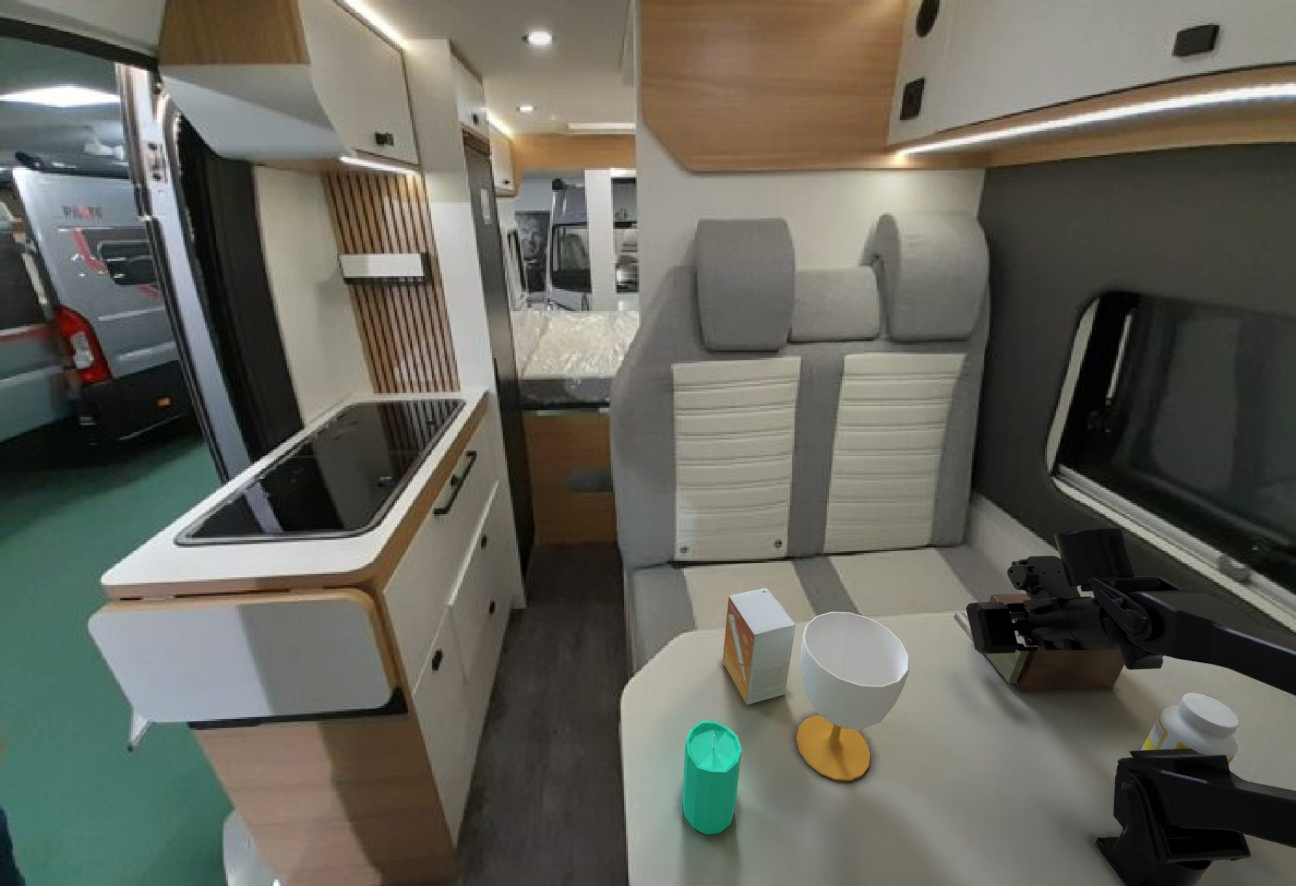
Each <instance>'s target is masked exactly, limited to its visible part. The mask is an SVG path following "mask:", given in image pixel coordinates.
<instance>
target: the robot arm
mask: <svg viewBox="0 0 1296 886" xmlns="http://www.w3.org/2000/svg"><path fill="white" fill-rule="evenodd" d="M1053 537H1054V541H1055V543H1056V547H1057V551H1058V553H1059V556H1056V555H1030V556H1028V557H1027V558H1020V559H1019V560H1013V561H1011V566H1010V567H1008V569H1007V570H1006V575H1007V576H1008V579H1009V581H1010V583H1011V584H1012V587H1013V588H1014V589H1015V590H1017V591H1024V592H1025V594H1027V595H1028V596H1029V597H1030V598H1031V600H1023V602H1024V603H1008V604H1006V605H1005V604H1004V603H1003V602H989V601H981V602H980V601H979V602H970V603H969V602H968V604H967V606H966V607H965V612H966V616H968V620H969V625H970V629H971V633H972V638H973V642H974V643H973V642H972V643H973V646H974V650H975V651H977V652H978V653H979V654H985V655H986V654H998V653H1015V652H1016V650H1017V651H1038V649H1037V647H1038V646H1039V649H1040V650H1065V651H1078V650H1120V652H1121V655H1122V658H1123V661H1124V664H1125V665H1124V667H1125V668H1126V669H1127V670H1130V671H1134V670H1135V671H1136V670H1137V671H1139V670H1160V669H1162V667H1163V663H1164V656H1165V657H1168V658H1172V659H1175V660H1181V661H1189V662H1192V663H1193V662H1195V663H1201V664H1207V665H1213V666H1216V667H1220V668H1225V669H1228V670H1231V671H1232V672H1236V673H1238V674H1240V675H1243V676H1246V677H1248V678H1251V679H1253V680H1255V681H1258V682H1260V683H1262V684H1265V685H1268V686H1271V687H1273V688H1275V689H1277V690H1280V691H1283V692H1285V693H1288V694H1290V695H1293V696H1295V697H1296V636H1294V635H1290V634H1288V633H1284V632H1282V631H1278V630H1275V629H1272V628H1269V627H1266V626H1264V625H1262V624H1260V623H1257V622H1255V621H1253V620H1251V619H1249V617H1247V616H1246V614H1244V613H1243V611H1241V610H1239V608H1237V607H1235V606H1233V605H1231V604H1229V603H1226V602H1225V601H1223V600H1220V599H1218V598H1215V597H1213V596H1211V595H1209V594H1206V593H1205V592H1202V591H1199V590H1194V589H1193V590H1192V589H1186V588H1185V589H1184V588H1183V587H1181V586H1179V585H1177V584H1176V583H1174V582H1171V581H1170V580H1168V579H1166V578H1164V577H1163V576H1160V575H1138V576H1137V575H1136V574H1135V571H1134V568H1133V566H1132V563H1131V560H1130V556H1129V553H1128V551H1127V547H1126V543H1125V537H1124V534H1123V530H1122V528H1120V527H1101V528H1100V527H1099V528H1096V529H1087V530H1077V531H1076V530H1073V531H1062V532H1059V533H1056V534H1054V536H1053ZM1078 587H1080V591H1081V592H1084V593H1085V592H1088V593H1089V592H1092V594H1093V597H1092V596H1091V595H1090V596H1089V595H1087V596H1084V595H1083V596H1081V594H1080V591H1079V589H1078ZM1028 611H1030V612H1028ZM1129 754H1130V756H1131V757H1121V758H1118V760H1117V765H1116V772H1115V776H1114V790H1113V806H1112V808H1113V809H1112V810H1113V811H1112V816H1113V818H1114V819H1115V820H1116V821H1117V823H1118V824H1119V825H1120V826H1121V830H1122V831H1121V832H1120V834H1119V836H1105V837H1102V836H1101V837H1096V839H1095V841H1094V842H1095V844H1096V846H1097V847H1098V849H1099V851H1101V853H1102V855H1103V856H1104V857H1105V858H1106V860H1107V861H1108V862H1109V864H1110V865H1111V867H1112V868H1113V869H1114V871H1115V872H1116V873H1117V876H1119V878H1120V879H1121V880H1122V881H1123V883H1124V885H1125V886H1196V884H1197V883H1198V882H1199V881H1200V879H1201V878H1202V877H1203V876H1204V875H1205V873H1206V871H1207V870H1208V869H1209V867H1211V865H1212V864H1213V862H1214V861H1230V862H1233V861H1241V860H1244V859H1245V860H1246V859H1250V858H1251V857H1252V853H1251V850H1250V848H1249V845H1248V843H1247V840H1246V839H1247V838H1246V836H1250V837H1253V838H1257V839H1260V840H1264V841H1267V842H1271V843H1274V844H1278V845H1281V846H1285V847H1289V848H1292V849H1296V789H1295V790H1294V789H1289V788H1284V787H1279V786H1274V785H1269V784H1263V783H1259V782H1253V781H1249V780H1246V779H1243V778H1241V777H1240V776H1239V775H1237V774H1235V773H1234V772H1233V771H1231V768H1230V763H1229V764H1228V760H1227V756H1226V755H1205V754H1202V753H1199V752H1197V751H1195V750H1193V749H1191V748H1184V749H1161V750H1141V749H1140V750H1139V749H1138V750H1129ZM1245 835H1246V836H1245Z"/></svg>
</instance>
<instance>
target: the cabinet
mask: <svg viewBox="0 0 1296 886" xmlns="http://www.w3.org/2000/svg"><path fill="white" fill-rule="evenodd" d="M1023 600H1031V598H1030V597H1029V596H1028V595H1027V594H1026V593H1000V594H999V593H996V594H993V593H992V594H991V595H990V598H989V600H988V602H1003V603H1004V604H1005V605H1006V604H1008V603H1024V602H1023ZM1028 612H1030V611H1028ZM1037 649H1038V651H1031V654H1030V656H1029V659H1028V661H1027V664H1026V666H1025V669H1024V671H1023V674H1022V676H1021V675H1019V678H1018V680H1017V683H1014V685H1015V686H1016V687H1017V688H1018V689H1019V691H1021V692H1031V691H1032V692H1034V691H1036V692H1037V691H1041V692H1042V691H1083V690H1084V691H1086V690H1087V691H1088V690H1089V691H1091V690H1113V689H1114V687H1115V686H1116V685H1115V684H1116V683H1117V681H1118V679H1119V677H1120V675H1121V673H1122V671H1123V669H1124V667H1125V664H1124V661H1123V658H1122V655H1121V652H1120V650H1078V651H1065V650H1040V649H1039V646H1038V647H1037Z"/></svg>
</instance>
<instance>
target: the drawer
mask: <svg viewBox="0 0 1296 886" xmlns="http://www.w3.org/2000/svg"><path fill="white" fill-rule="evenodd" d="M953 619H954V620H955V622H956V623H957V624H958V626H959V627H960V628H961V629H962V631H964V633H965V634H966V636H967V637H968V638H969V639H970V641H971V642H972V643H973V644H974V642H973V638H972V633H971V629H970V625H969V620H968V616H967V614H965V613H964V612H962V611H959V612H956V613H955V614H954V615H953ZM1030 654H1031V651H1017V650H1016V652H1015V653H998V654H985V655H986V657H987V658H988V659H989V661H990V662H991V663H992V665H993V666H994V667H995V668H996V669H997V671H998V673H999V674H1001V676H1002V677H1003V679H1004V680H1005V681H1006V683H1008V684H1015V683H1017V680H1018V678H1019V675H1021V676H1022V674H1023V671H1024V669H1025V666H1026V664H1027V661H1028V659H1029V656H1030Z"/></svg>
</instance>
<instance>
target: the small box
mask: <svg viewBox="0 0 1296 886" xmlns="http://www.w3.org/2000/svg"><path fill="white" fill-rule="evenodd" d="M796 626H797V625H796V623H795V622H794V621H793V619H792V618H791V617H790V615H789V614H788V613H787V611H786V610H785V608H784V607H783V606H782V604H781V603H780V602H779V601H778V600H777V599H776V597H775V596H774V594H773V593H772V592H771V591H770V590H769V588H768V587H764V588H758V589H752V590H748V591H744V592H739V593H735V594H731V595H728V599H727V611H726V620H725V632H724V642H723V653H722V664H723V666H724V668H725V669H726V671H727V673H728V674H729V676H730V678H731V680H732V681H733V683H734V685H735V686H736V688H737V691H738V692H739V694H740V696H741V697H742V700H743V702H744V703H745V705H747V706H748V705H752V704H755V703H759V702H763V701H766V700H770V699H774V698H777V697H780V696H783V695H786V690H787V685H788V678H789V671H790V665H791V658H792V652H793V646H794V639H795V633H796Z"/></svg>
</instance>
